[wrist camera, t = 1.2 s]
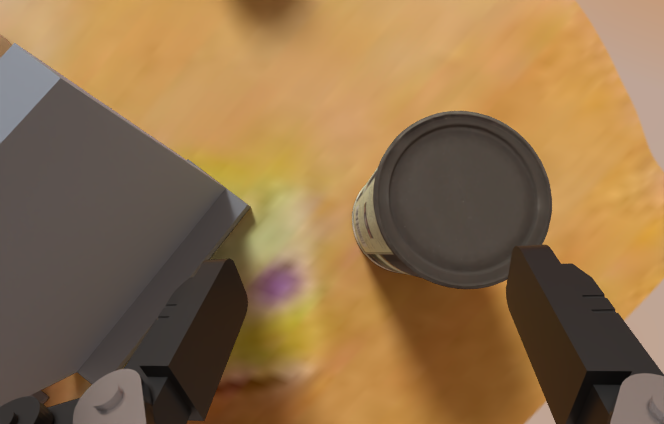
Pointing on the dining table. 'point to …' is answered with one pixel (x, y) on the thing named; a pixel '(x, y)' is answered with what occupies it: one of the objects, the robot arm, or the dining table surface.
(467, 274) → the coffee can
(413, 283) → the dining table surface
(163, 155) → the screen
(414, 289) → the dining table surface
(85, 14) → the dining table surface
